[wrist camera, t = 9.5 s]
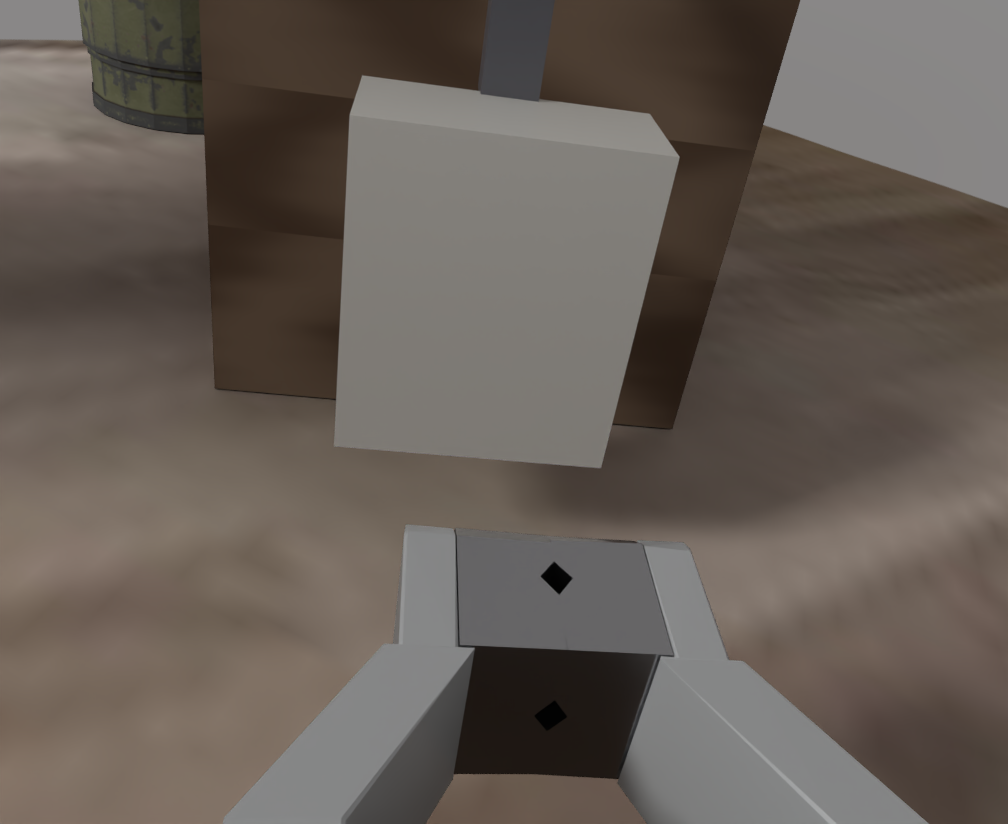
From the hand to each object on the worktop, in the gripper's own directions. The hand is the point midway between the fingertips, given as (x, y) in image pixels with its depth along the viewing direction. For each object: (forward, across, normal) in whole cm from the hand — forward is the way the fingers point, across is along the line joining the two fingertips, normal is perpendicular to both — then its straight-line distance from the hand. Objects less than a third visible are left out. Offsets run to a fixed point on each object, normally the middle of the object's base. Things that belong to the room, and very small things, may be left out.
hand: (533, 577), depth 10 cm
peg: (+14, 0, +3) cm, 15 cm away
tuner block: (+18, 0, +6) cm, 19 cm away
